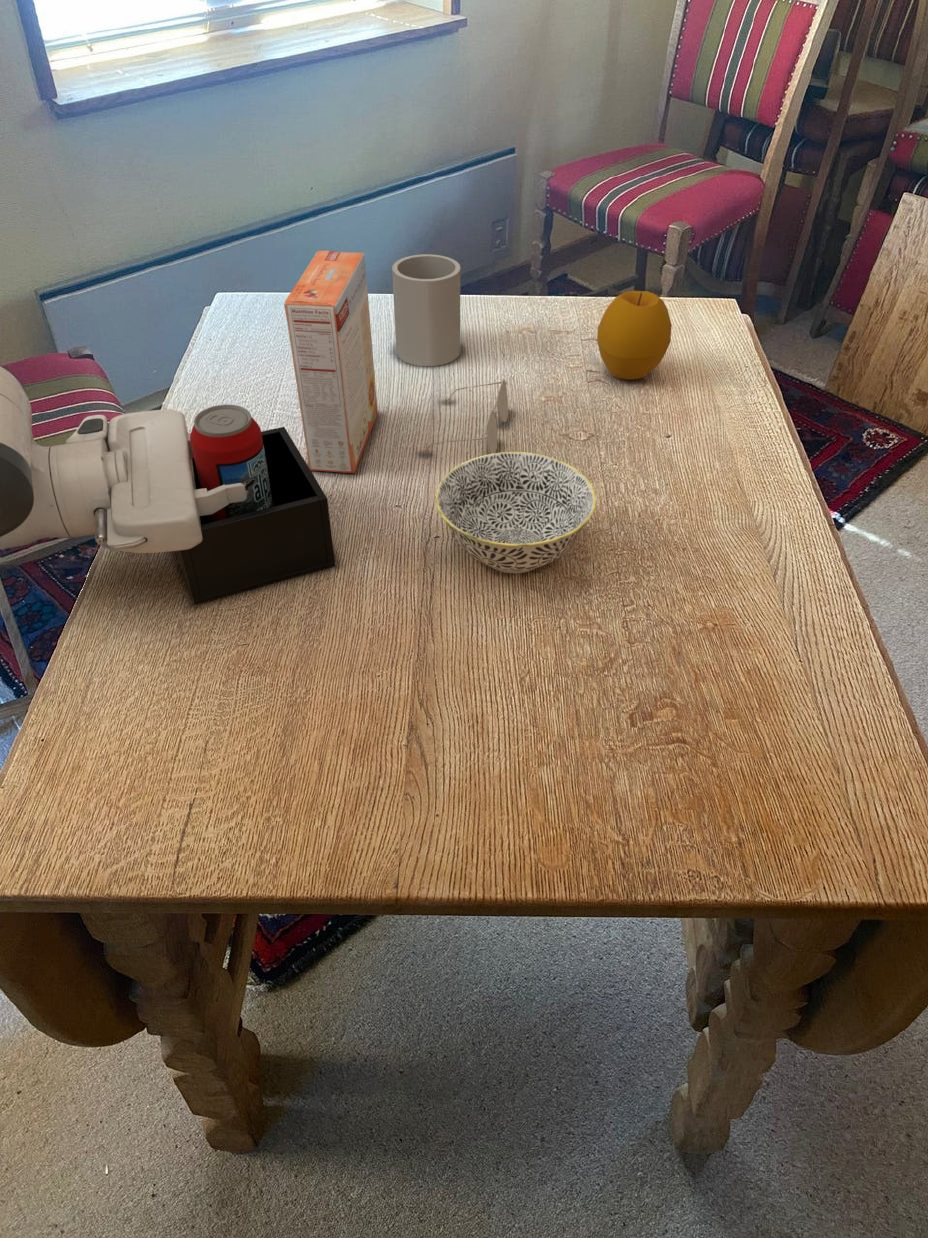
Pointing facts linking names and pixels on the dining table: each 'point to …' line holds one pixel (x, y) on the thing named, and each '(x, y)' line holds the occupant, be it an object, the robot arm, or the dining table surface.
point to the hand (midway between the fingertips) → (240, 466)
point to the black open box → (264, 532)
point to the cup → (427, 309)
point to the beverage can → (231, 457)
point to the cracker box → (333, 359)
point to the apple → (634, 334)
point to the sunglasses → (490, 418)
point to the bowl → (515, 508)
